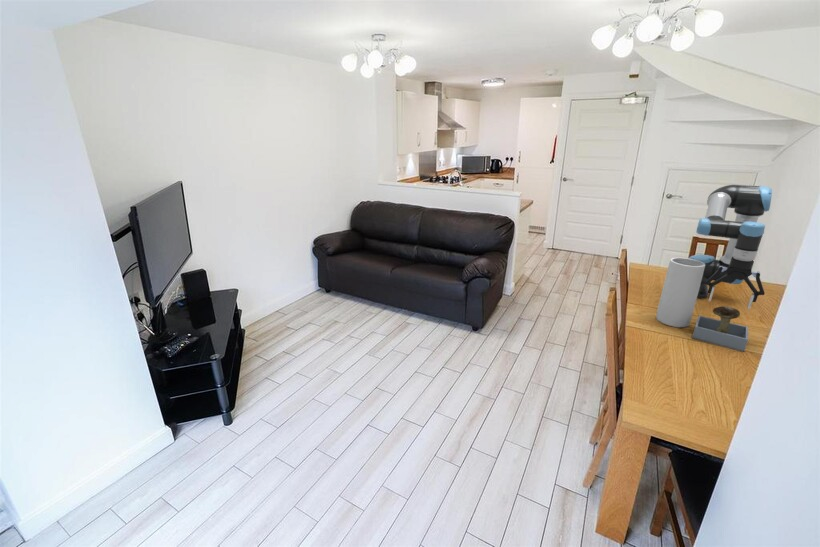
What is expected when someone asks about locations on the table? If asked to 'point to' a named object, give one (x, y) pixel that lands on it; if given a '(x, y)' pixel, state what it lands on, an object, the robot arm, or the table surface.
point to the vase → (680, 291)
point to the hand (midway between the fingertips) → (728, 304)
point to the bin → (732, 339)
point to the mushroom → (725, 317)
